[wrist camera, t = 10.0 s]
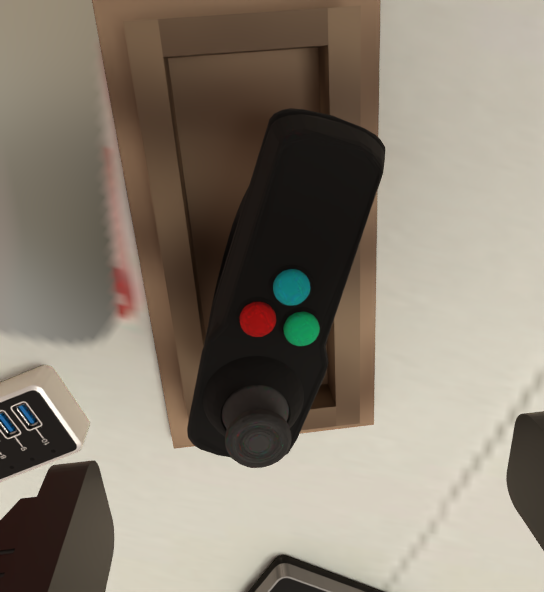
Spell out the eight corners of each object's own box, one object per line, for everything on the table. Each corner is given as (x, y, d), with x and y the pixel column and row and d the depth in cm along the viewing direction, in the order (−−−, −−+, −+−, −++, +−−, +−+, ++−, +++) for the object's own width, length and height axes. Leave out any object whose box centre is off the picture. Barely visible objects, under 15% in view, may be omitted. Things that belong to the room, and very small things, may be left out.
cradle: (92, -23, 20) (73, -38, 17) (373, -40, 20) (397, -57, 18) (175, 436, 29) (171, 474, 26) (368, 413, 29) (384, 448, 27)
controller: (186, 347, 25) (170, 501, 16) (253, 88, 21) (281, 102, 12) (270, 364, 26) (298, 519, 17) (350, 119, 22) (447, 152, 13)
